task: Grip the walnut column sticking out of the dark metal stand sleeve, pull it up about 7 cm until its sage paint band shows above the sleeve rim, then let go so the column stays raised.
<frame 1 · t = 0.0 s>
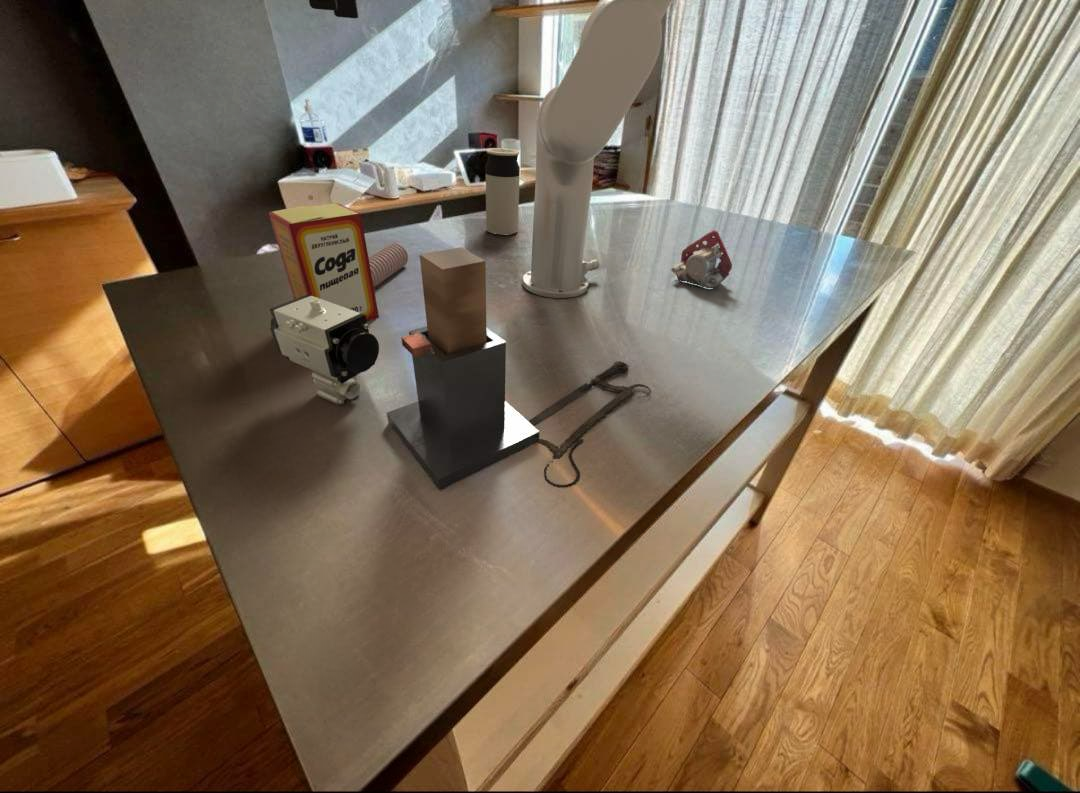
hand: (336, 13, 58), 37 cm above the table, fingers open, 9 cm apart
hacksaw: (595, 419, 52), on the table
column: (457, 348, 42), point 11 cm above the table, slide at 0.0 cm
pneumatic valve: (337, 397, 52), on the table
coil: (379, 281, 81), on the table
brake caliper: (698, 284, 89), on the table
travel mug: (502, 232, 110), on the table
baking soda box: (340, 319, 68), on the table
stand sleeve: (462, 432, 48), on the table
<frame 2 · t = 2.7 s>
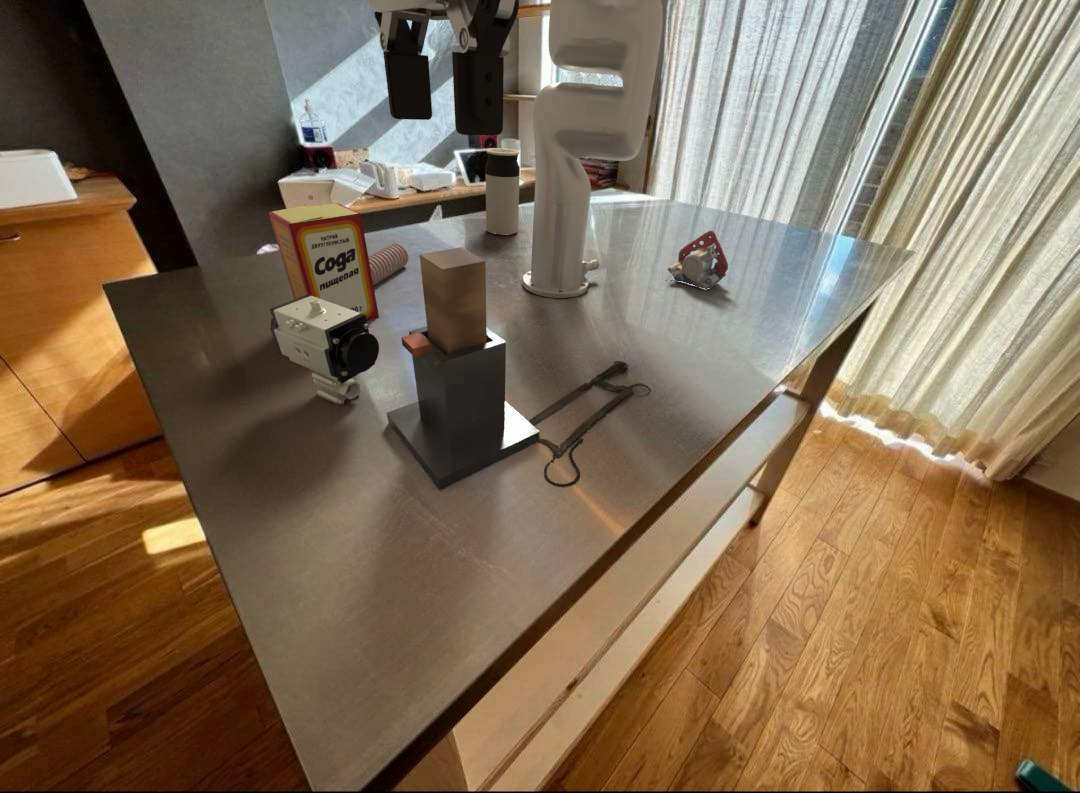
hand: (442, 125, 31), 29 cm above the table, fingers open, 9 cm apart
hacksaw: (595, 419, 52), on the table, touching stand sleeve
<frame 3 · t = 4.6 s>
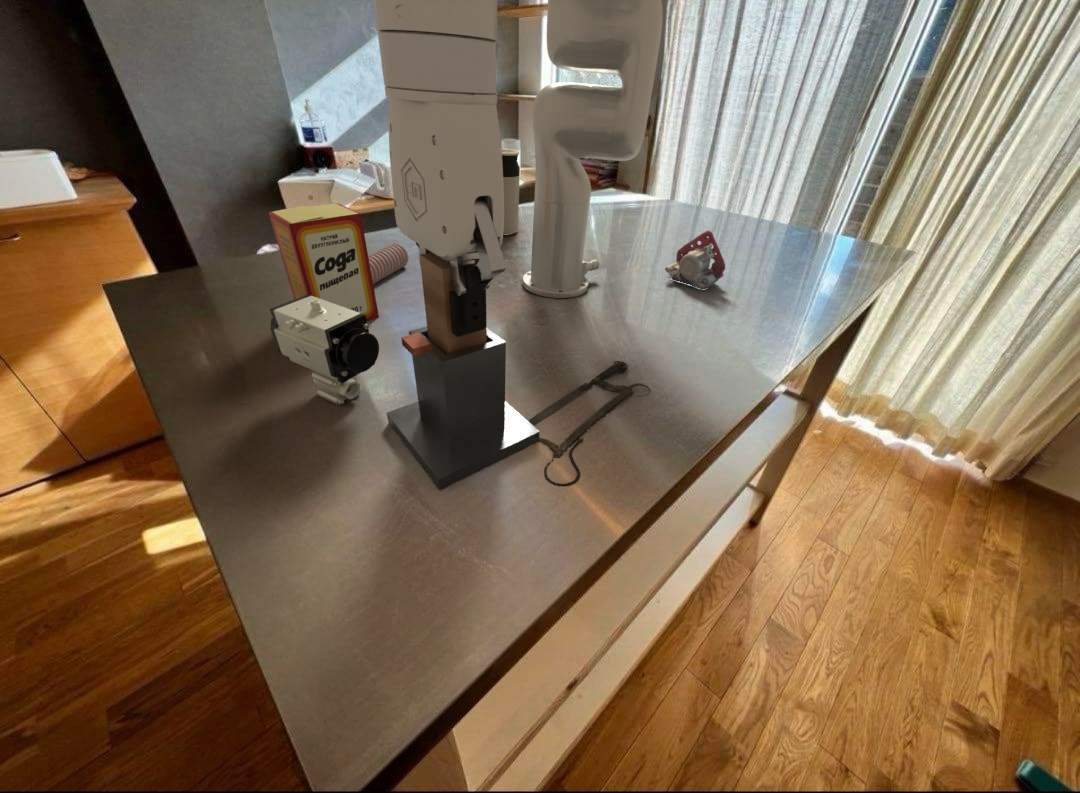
hand: (456, 319, 40), 14 cm above the table, fingers closed on column, 4 cm apart
hacksaw: (595, 418, 52), on the table
column: (457, 348, 42), point 11 cm above the table, slide at 0.0 cm, touching gripper
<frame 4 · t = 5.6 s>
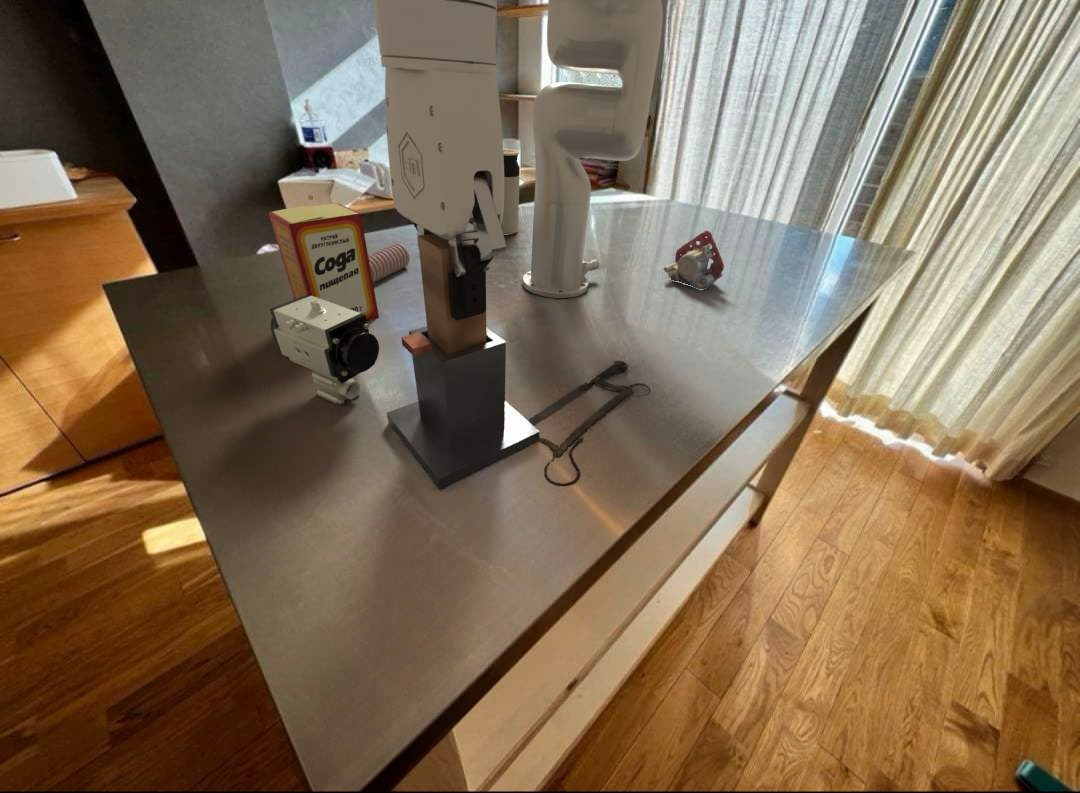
hand: (455, 303, 39), 15 cm above the table, fingers closed on column, 4 cm apart
hacksaw: (595, 418, 52), on the table, touching stand sleeve
column: (456, 333, 41), point 12 cm above the table, slide at 1.6 cm, touching gripper
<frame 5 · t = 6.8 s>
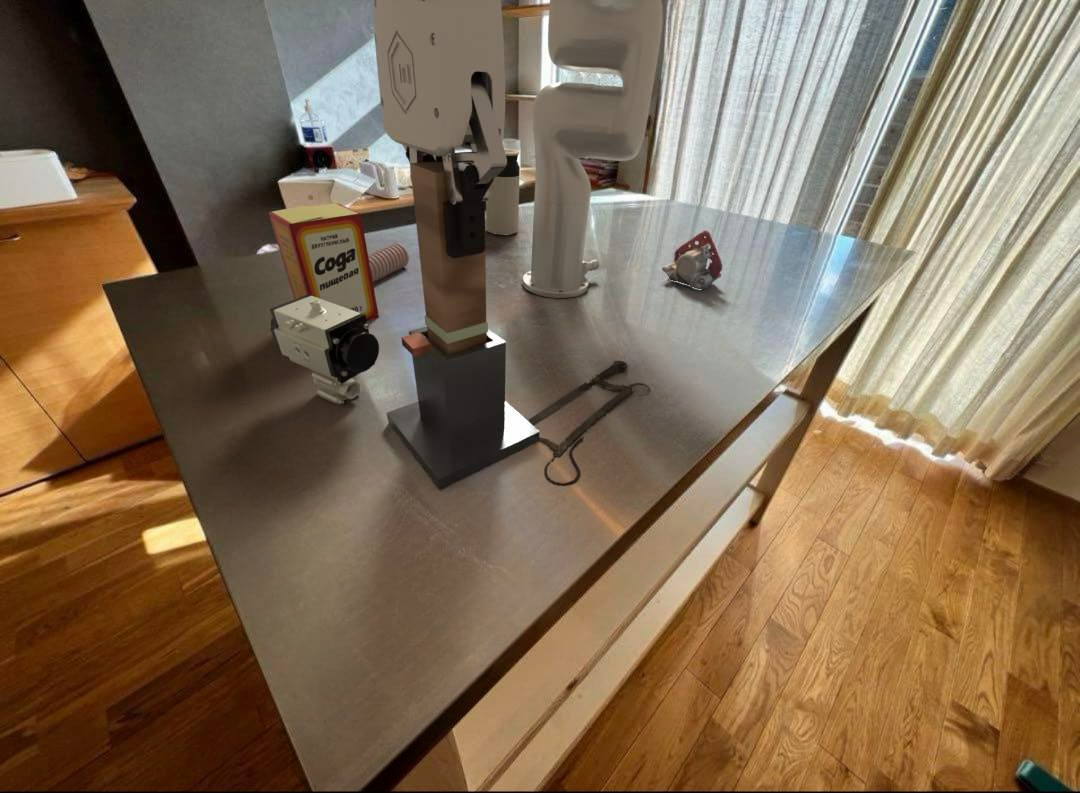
hand: (451, 243, 36), 21 cm above the table, fingers closed on column, 4 cm apart
column: (453, 279, 38), point 18 cm above the table, slide at 6.9 cm, touching gripper
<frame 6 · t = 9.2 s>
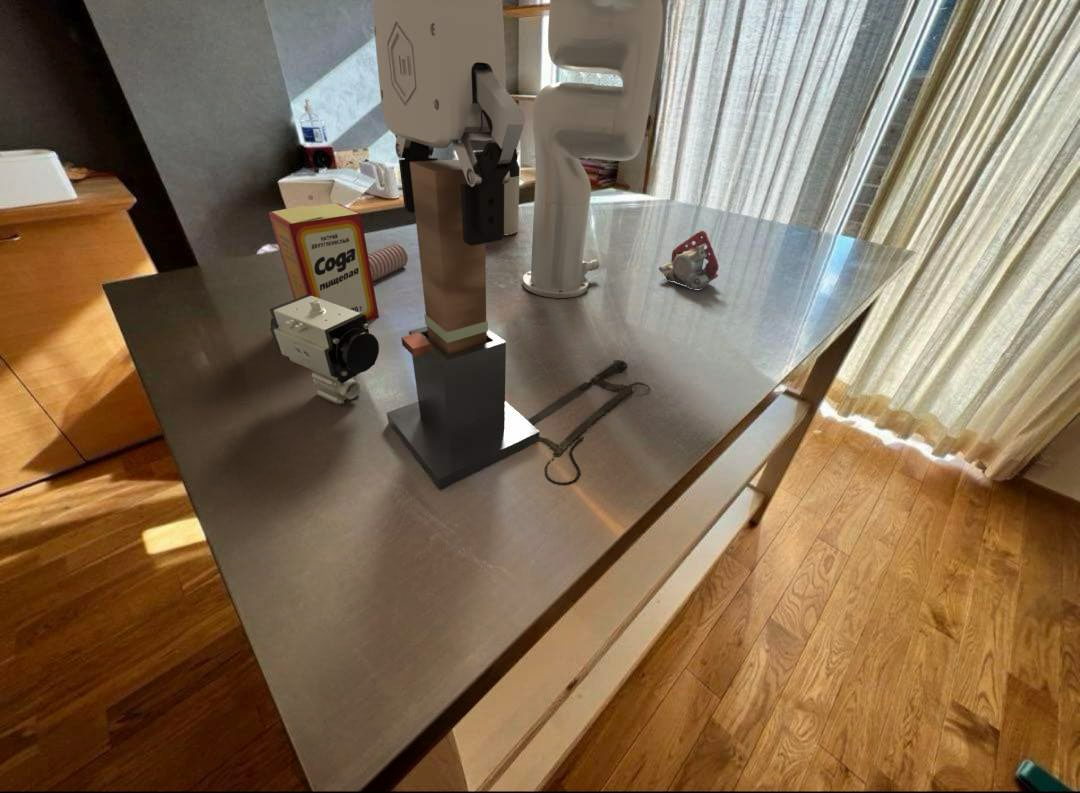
hand: (451, 224, 35), 22 cm above the table, fingers open, 9 cm apart
hacksaw: (595, 417, 52), on the table
column: (453, 278, 37), point 18 cm above the table, slide at 6.9 cm
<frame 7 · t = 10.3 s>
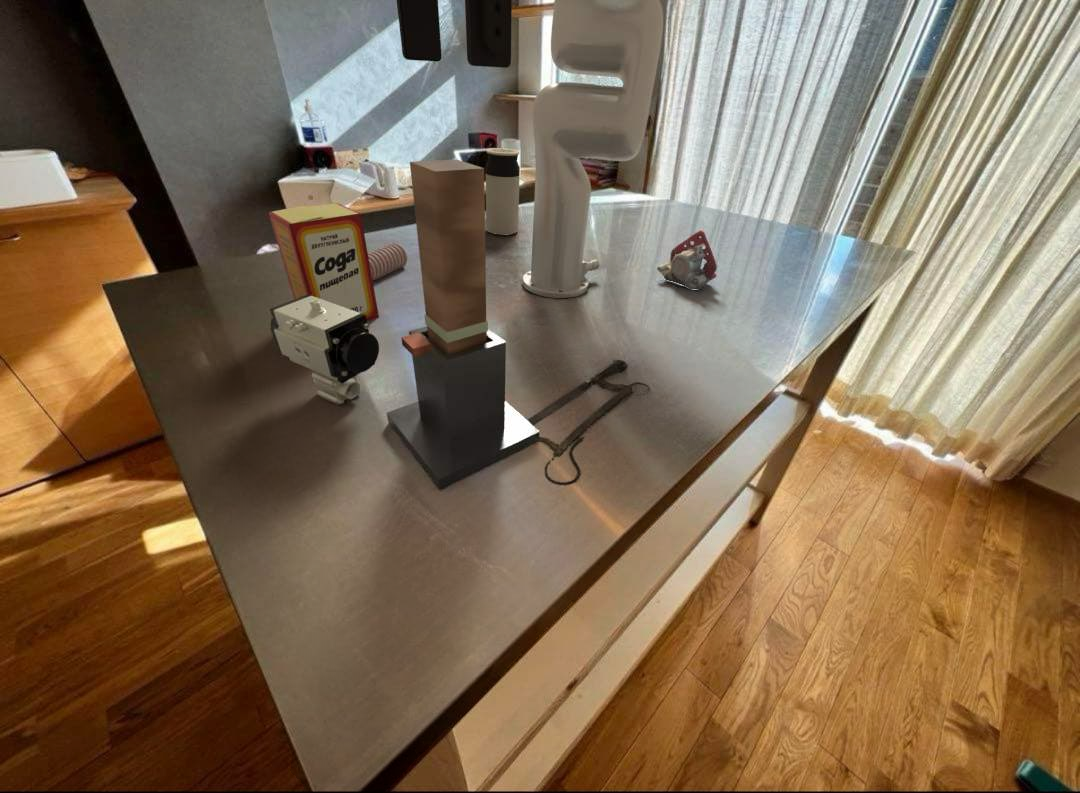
hand: (453, 63, 32), 33 cm above the table, fingers open, 9 cm apart
hacksaw: (595, 417, 52), on the table, touching stand sleeve
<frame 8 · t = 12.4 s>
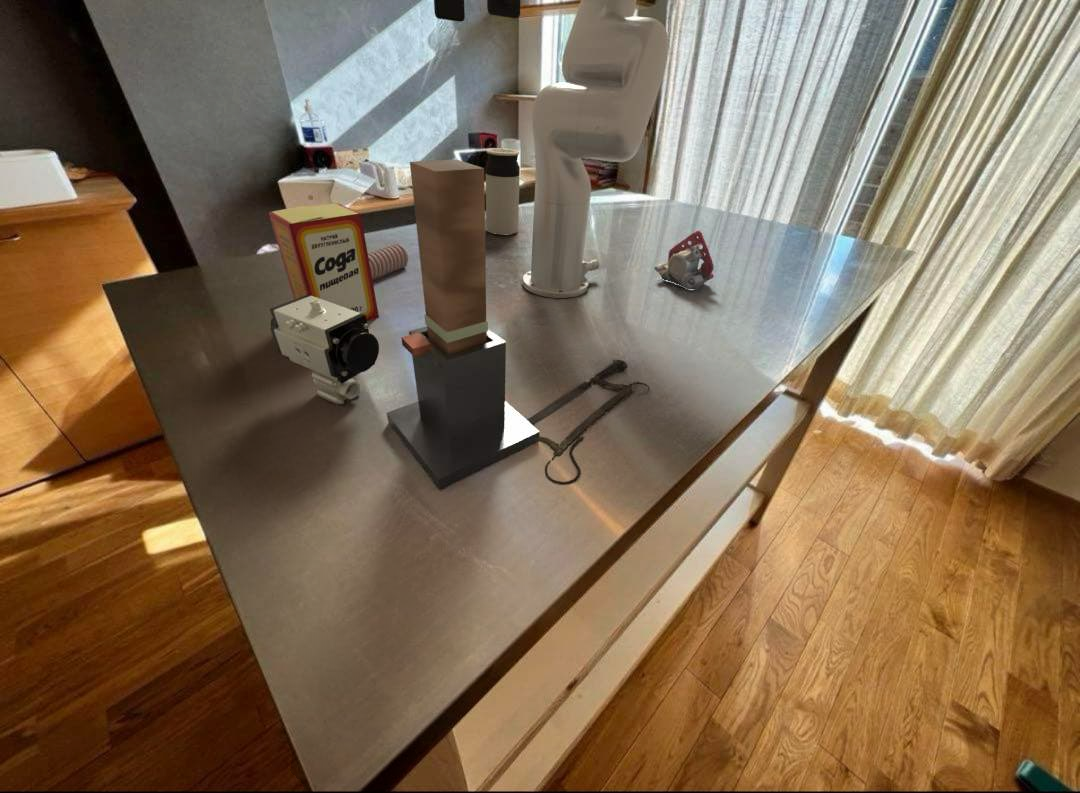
hand: (475, 18, 42), 36 cm above the table, fingers open, 9 cm apart
hacksaw: (595, 417, 52), on the table
at the end: column slide at 6.9 cm; the gripper is holding nothing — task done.
